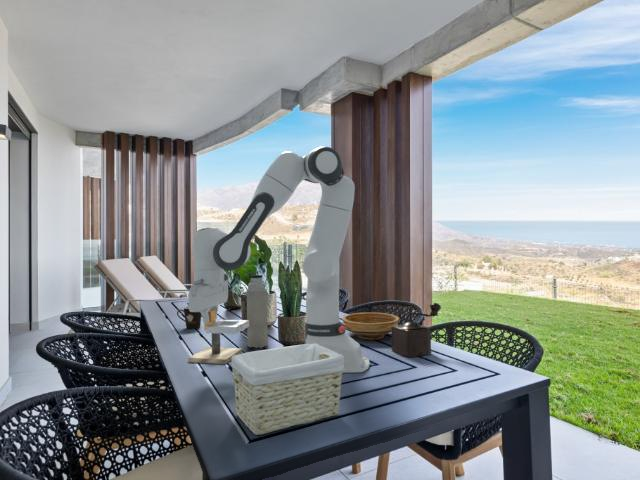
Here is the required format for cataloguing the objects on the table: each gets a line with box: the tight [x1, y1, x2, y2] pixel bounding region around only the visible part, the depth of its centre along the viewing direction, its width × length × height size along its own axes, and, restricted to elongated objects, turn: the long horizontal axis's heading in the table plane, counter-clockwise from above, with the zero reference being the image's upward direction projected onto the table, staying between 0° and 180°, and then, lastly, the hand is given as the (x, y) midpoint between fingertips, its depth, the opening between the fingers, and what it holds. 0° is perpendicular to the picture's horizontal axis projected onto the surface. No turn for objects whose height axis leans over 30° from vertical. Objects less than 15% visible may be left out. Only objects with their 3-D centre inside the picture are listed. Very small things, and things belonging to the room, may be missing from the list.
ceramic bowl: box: [341, 312, 400, 340], centre depth 176 cm, size 30×24×8 cm
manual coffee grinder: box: [391, 302, 442, 359], centre depth 152 cm, size 16×11×18 cm
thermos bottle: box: [246, 274, 269, 349], centre depth 165 cm, size 8×8×28 cm
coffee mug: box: [176, 305, 202, 330], centre depth 200 cm, size 12×9×10 cm
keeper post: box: [188, 333, 243, 365], centre depth 149 cm, size 14×14×10 cm
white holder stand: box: [203, 309, 249, 335], centre depth 131 cm, size 12×10×6 cm
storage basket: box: [230, 343, 344, 436], centre depth 100 cm, size 24×16×15 cm
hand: (210, 321), depth 132 cm, fingers closed on white holder stand, 3 cm apart
